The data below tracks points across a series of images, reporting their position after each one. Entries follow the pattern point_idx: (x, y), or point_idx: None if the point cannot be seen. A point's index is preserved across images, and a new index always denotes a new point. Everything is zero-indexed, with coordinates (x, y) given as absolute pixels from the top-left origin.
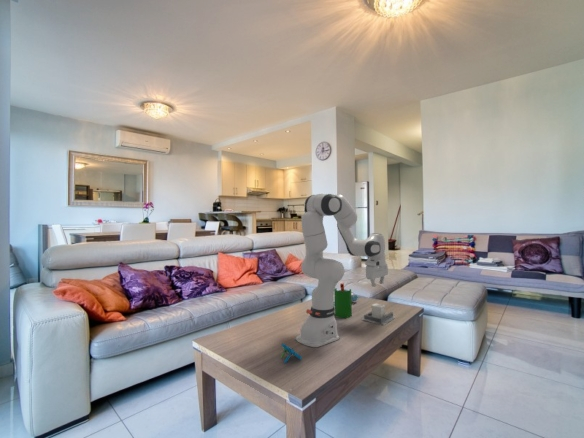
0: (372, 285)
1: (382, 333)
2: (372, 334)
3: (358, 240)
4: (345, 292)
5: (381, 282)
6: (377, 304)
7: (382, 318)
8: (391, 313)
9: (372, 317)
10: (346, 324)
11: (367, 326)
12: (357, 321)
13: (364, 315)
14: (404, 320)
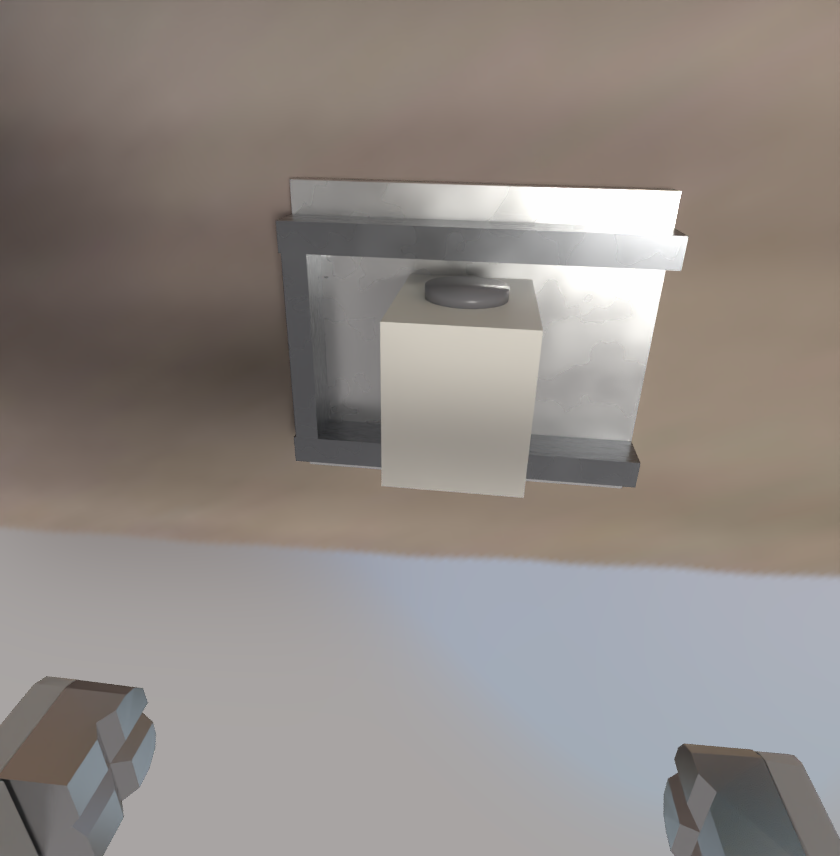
0: (36, 715)
1: (147, 507)
2: (59, 451)
3: None
4: None
5: (689, 839)
6: (492, 385)
7: (337, 461)
8: (587, 482)
9: (289, 351)
10: (17, 86)
11: (173, 333)
12: (208, 151)
13: (276, 227)
14: (597, 565)
